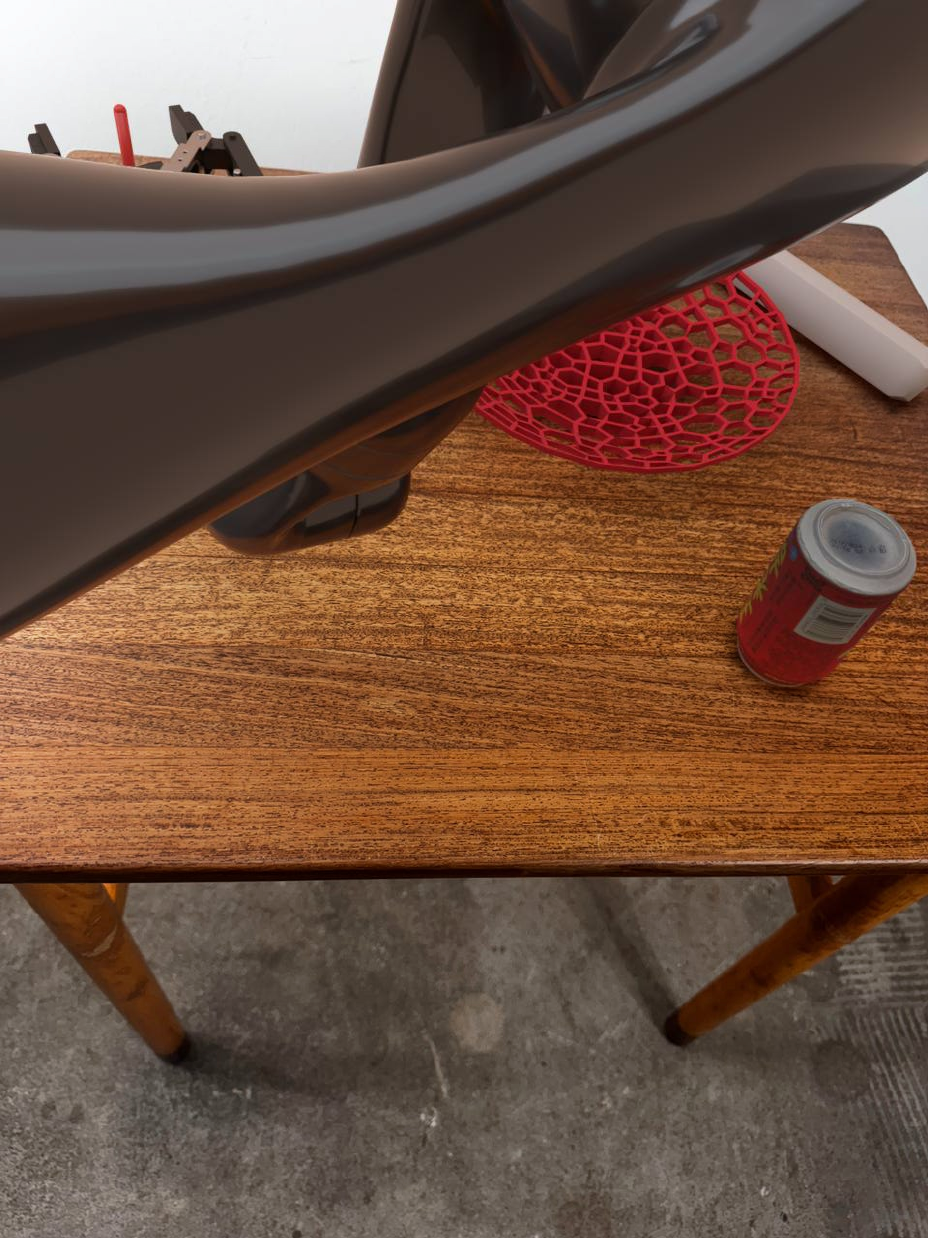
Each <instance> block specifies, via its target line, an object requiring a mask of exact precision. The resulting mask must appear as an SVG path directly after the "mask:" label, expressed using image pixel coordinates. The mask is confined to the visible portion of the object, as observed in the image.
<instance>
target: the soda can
mask: <svg viewBox="0 0 928 1238" xmlns="http://www.w3.org/2000/svg"><path fill="white" fill-rule="evenodd" d="M917 562H918V561H917V553H916V551H915V548H914V545H913V544H912V541H911V539H910V537H909V536H908V534H907V532H906V531H905V530H904V529H903V527H901V525H900V524H899V523H898V521H896V520H895V519H894V518H893V517H892V516H891V515H890V514H888V513H886V512H885V511H882V510H880V509H879V508H877V507H874V506H873V505H870V504H867V503H865V502H861V501H858V500H854V499H850V498H833V499H826V500H823V501H821V502H818V503H816V504H813V505H811V506H810V507H809V508H807V509H806V510H805V511H804V512H803V513H802V514H801V516H800V517H799V518H798V519H797V521H796V522H795V524H794V526H793V527H792V529H791V531H790V532H789V534H788V535H787V537H786V538H785V540H784V541H783V543H782V544H781V546H780V548H779V549H778V551H777V552H776V554H775V556H774V558H772V560H771V562H770V563H769V564H768V567H767V568H766V569H765V571H764V573H763V574H762V575H761V577H760V579H759V581H758V582H757V583H756V585H755V586H754V588H753V590H752V591H751V592H750V594H749V595H748V597H747V598H746V600H745V602H744V603H743V605H742V606H741V608H740V610H739V613H738V615H737V619H736V633H737V638H736V639H737V640H736V646H737V650H738V651H737V652H738V654H739V657H740V659H741V661H742V662H743V664H744V665H745V666H746V668H748V670H749V671H750V672H752V674H753V675H755V676H756V677H757V678H758V679H760V680H762V681H764V682H765V683H768V684H771V685H775V686H778V687H784V688H793V687H795V688H796V687H798V686H801V685H804V684H809V683H814V682H817V681H820V680H822V679H824V678H826V677H827V676H829V675H830V674H831V673H833V672H834V671H835V669H836V668H837V667H839V665H840V664H841V663H842V662H843V660H844V659H845V658H846V657H847V656H848V654H850V652H851V651H852V650H853V649H854V648H855V647H856V646H857V644H858V643H859V642H860V641H861V640H862V639H863V638H864V637H865V635H866V634H867V633H868V632H869V631H870V630H871V629H872V627H873V626H874V625H875V624H876V623H877V622H878V620H879V619H880V618H881V617H882V616H883V614H885V613H886V611H887V610H888V609H889V607H890V606H891V605H892V604H893V602H895V600H896V599H897V598H899V596H900V595H901V594H902V593H903V592H904V591H905V589H906V588H908V586H909V585H910V584H911V582H912V581H913V578H914V576H915V574H916V572H917Z"/></svg>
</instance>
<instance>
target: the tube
mask: <svg viewBox="0 0 928 1238" xmlns="http://www.w3.org/2000/svg"><path fill="white" fill-rule="evenodd" d="M741 271H743V272H744V273H745V274H746V275H747V276H748V277H749V278H751V279H752V280H753V281H754V282H755V283H756V284H757V285H759V286H760V287H761V288H762V289H763V290H764V291H765V293H766V294H767V295H768V296H769V298H770V299H771V300H772V301H773V303H774V304H775V305H776V306H777V308H778V309H779V310H780V312H781V313H782V314H783V315H784V318H785V320H786V323H787V325H788V326H790V327H791V328H792V329H794V330H795V331H797V332H798V333H799V334H801V335H802V336H804V337H805V338H806V339H808V340H809V341H811V342H812V343H813V344H814V345H816V346H817V347H818V348H820V349H822V350H823V351H824V352H826V353H827V354H829V355H830V356H831V357H833V358H834V359H835V360H837V361H838V362H839V363H841V364H842V365H844V366H845V367H846V368H848V370H851V371H852V372H854V373H855V374H856V375H857V376H859V377H861V378H862V379H863V380H865V381H866V382H867V383H869V384H870V385H871V386H873V387H874V388H876V389H877V390H879V391H880V392H881V393H883V394H884V395H886V396H887V397H888V398H890V399H891V400H897V401H902V402H911V400H913V399H914V398H915V397H916V396H918V395H919V394H920V393H922V392H923V391H924V390H925V389H926V388H928V346H926V345H925V344H924V343H922V342H921V341H919V340H918V339H916V338H915V337H914V336H912V335H911V334H909V333H908V332H906V331H905V330H904V329H902V328H900V327H899V326H897V325H896V324H895V323H893V322H892V321H890V320H889V319H887V318H886V317H884V316H883V315H882V314H880V313H879V312H877V311H876V310H874V309H873V308H871V307H870V306H868V305H867V304H866V303H864V302H862V301H861V300H859V299H858V298H857V297H855V296H853V294H851V293H849V292H848V291H846V290H845V289H843V287H840V285H837V284H836V283H835V282H833V281H832V280H830V279H829V278H827V277H826V276H825V275H823V274H822V273H820V272H819V271H818V270H816V269H814V268H813V267H811V266H810V265H809V264H807V263H806V262H804V261H802V260H801V259H799V258H798V257H797V256H796V255H794V254H792V253H791V252H790V251H788V250H787V249H786V250H784V251H782V252H780V253H778V254H776V255H773V256H771V257H769V258H767V259H765V260H763V261H761V262H759V263H756V264H754V265H752V266H750V267H748V268H746V269H744V270H741ZM732 282H733V284H734V287H735V288H737V289H738V290H740V291H741V292H742V293H744V294H745V295H747V296H748V298H751V299H752V298H753V297H754V295H755V294H754V293H753V292H752V291H750V290H749V289H748V288H747V287H746V286H745V285H744V284H743V283H741V282H740V281H739V280H738V279H737V278H735V279H734V280H733V281H732ZM756 303H757V304H758V305H760V306H762V307H763V308H765V309H766V310H767V308H766V307H765V306H764V305H763V303H762V302H761V301H760V300H759V298H758V300H757V301H756Z"/></svg>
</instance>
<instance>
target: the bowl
mask: <svg viewBox="0 0 928 1238" xmlns="http://www.w3.org/2000/svg"><path fill="white" fill-rule="evenodd" d="M735 278H737V279H738V280H739V281H740V282H741V283H743V284H744V285H745V286H746V287H747V288H748V289H749V290H750V291H752V292H753V293H754V294H755V295H754V297H753V298H751V300H750V299H748V298H746V297H744V296H742V295H740V294H738V293H737V290H736V287H735V286H734V284H733V282H732V281H733V280H734V279H735ZM717 283H719V284H721V285H723V286H725V287H726V290H727V293H728V296H729V297H728V298H727V299H725V300H724V299H722V298H719V297H718V296H714V295H712V293H711V289H710V285H709V286H707V287H704V288H702V289H701V290H702V292H703V295H704V298H703V299H700V300H698V301H697V300H696V299H695V297H694V296H693V293H691V294H688V295H686V296H684V297H682V298H681V299H682V300H683V301H684V303H685V305H686V306H685V307H683V308H680V309H679V310H677V309H675V308H673V307H671V306H669V305H667V304H666V305H664V306H661V307H659V308H657V309H654V310H652V311H650V312H648V313H645V314H643V315H641V316H639V317H636V318H634V319H632V320H630V321H627V322H625V323H623V324H621V325H618V326H616V327H614V328H611V329H610V330H613V331H609V330H607V331H605V332H602V333H600V334H598V335H596V336H593V337H591V338H589V339H587V340H584V341H582V342H580V343H578V344H575V345H573V346H571V347H568V348H566V349H564V350H562V351H559V352H557V353H555V354H553V355H550V356H548V357H546V358H544V359H541V360H539V361H537V362H535V363H532V364H530V365H528V366H526V367H523V368H521V369H519V370H517V371H514V372H512V373H510V375H511V376H508V375H505V376H503V377H501V378H499V379H496V380H494V381H493V383H494V384H495V385H496V386H497V388H498V389H499V390H500V391H498V390H497V389H495V388H493V387H492V386H490V385H489V384H488V385H487V387H486V388H485V390H484V392H483V394H482V395H481V397H480V399H479V400H478V402H477V403H476V405H475V406H474V408H473V409H472V411H474V412H475V413H476V414H477V415H479V416H480V417H481V418H483V419H485V420H486V421H488V423H490V424H492V425H493V426H495V427H496V428H498V429H499V430H500V431H502V432H503V433H505V434H506V435H507V436H509V437H512V438H514V439H515V440H517V441H520V442H521V443H524V444H525V445H528V446H530V447H532V448H534V449H535V450H537V451H540V452H542V453H544V454H547V455H551V456H553V457H556V458H560V459H563V460H566V461H570V462H573V463H576V464H579V465H581V466H586V467H589V468H593V469H596V470H602V471H612V472H621V473H631V474H639V475H640V474H641V475H657V474H671V473H686V472H687V473H688V472H695V471H698V470H701V469H704V468H708V467H711V466H715V465H717V464H720V463H722V462H727V461H730V460H732V459H736V458H738V457H739V456H741V455H742V454H744V453H746V452H748V451H750V450H751V449H753V448H754V447H756V446H758V445H759V444H761V443H762V442H764V441H765V440H766V439H767V438H768V437H770V436H771V435H772V434H773V433H775V431H776V430H777V429H778V427H779V426H780V425H781V423H782V422H783V421H784V419H785V418H786V416H787V415H788V413H789V412H790V410H791V407H792V404H793V402H794V400H795V396H796V393H797V391H798V388H799V385H800V369H801V368H800V364H801V363H800V362H801V357H800V354H799V352H798V349H797V346H796V344H795V341H794V339H793V336H792V334H791V333H792V332H791V331H790V329H789V325H788V324H787V323H786V320H785V318H784V315H783V314H782V313H781V312H780V310H779V309H778V308H777V306H776V305H775V304H774V303H773V301H772V300H771V299H770V298H769V296H768V295H767V294H766V293H765V291H764V290H763V289H762V288H761V287H760V286H759V285H757V284H756V283H755V282H754V281H753V280H752V279H751V278H749V277H748V276H747V275H746V274H745V273H744V272H743V271H739V272H737V273H735V274H733V275H731V276H729V277H727V278H724V279H722V280H720V281H718V282H717ZM758 298H759V300H760V301H761V302H762V303H763V305H764V306H765V307H766V308H767V309H766V308H765V307H764V308H765V309H766V310H767V311H768V312H766V313H765V312H764V311H763V310H762V309H760V307H759V306H758V305H756V303H757V302H756V301H757V300H758ZM731 304H735V305H737V306H739V307H740V308H743V309H744V310H745V311H744V312H739V313H738V312H737V313H733V312H732V309H731V307H730V305H731ZM707 305H708V306H711V307H714V308H716V309H718V310H721V312H722V316H718V317H715V318H710V317H709V316H708V315H707V313H706V312H705V311H704V310H703V308H704V307H705V306H707ZM749 314H751V315H752V316H753V317H754V318H752V317H751V316H749ZM690 316H693V317H694V319H695V320H696V321H691V320H690V319H689V318H688V317H690ZM773 320H775V321H776V322H774V321H773ZM647 322H649V323H647ZM760 324H762V325H764V326H765V327H766V328H767V330H764V329H759V327H758V326H759V325H760ZM671 325H675V326H677V327H678V328H680V329H681V330H683V331H684V332H685V333H684V335H682V336H678V337H673V338H668V337H667V336H666V334H664V333H663V331H662V330H661V329H663V328H666V327H669V326H671ZM725 325H730V326H731V327H733V328H735V329H737V330H739V331H740V333H741V336H742V338H743V340H742V341H739V342H737V343H734V344H732V343H730V342H728V341H725V340H723V339H721V338H720V336H719V334H718V331H717V328H719V327H722V326H725ZM615 331H616V332H615ZM774 331H780V332H781V335H782V337H783V340H784V342H785V343H781V342H778V341H777V340H776V338H775V337H774V336H773V335H772V332H774ZM701 332H704V333H705V334H706V336H707V339H708V340H709V343H710V344H711V345H710V346H709V348H703V347H699V346H694V344H693V343H692V342H691V340H690V339H689V336H690V335H691V334H696V333H701ZM758 339H759V340H758ZM760 340H765V342H766V343H767V344H764V343H762V342H761V341H760ZM746 347H749V348H751V349H752V350H755V351H756V352H757V353H759V356H760V360H759V361H757V362H756V363H753V364H752V363H749V362H747V361H744V360H741V359H739V358H738V357H737V355H738V354H737V351H738V350H740V349H743V348H746ZM716 350H717V351H719V352H723V353H727V354H729V359H727V360H724V361H720V362H717V360H716V358H715V356H714V353H715V352H716ZM678 351H680V352H681V353H680V352H679V353H678ZM771 351H777V352H781V353H785V354H789V356H790V360H787V361H783V362H782V361H779V360H776V359H773V358H769V357H768V355H767V354H768V352H771ZM599 360H601V361H599ZM698 362H704V363H698ZM652 367H659V368H663V369H667V371H663V372H658V371H655V370H652V369H648V368H652ZM761 367H763V368H766V369H771V370H773V371H778V372H777V373H776V374H774V375H772V376H771V377H769V378H763V377H759V375H758V372H757V370H758V369H760V368H761ZM729 369H734V370H736V371H739V372H742V373H745V374H748V375H749V376H750V380H751V382H749V384H748V385H747V386H741V385H740V386H739V385H732V384H726V383H724V381H723V378H722V375H721V373H722V372H724V371H727V370H729ZM787 369H790V370H787ZM791 369H792V370H791ZM520 372H521V373H523V374H521V373H520ZM691 376H709V377H710V380H711V382H712V385H709V386H702V385H698V384H695V383H692V382H689V381H688V379H687V378H689V377H691ZM781 379H792V383H791V384H789V385H786V386H783V387H781V388H769V386H770V385H772V384H774V383H776V382H778V381H780V380H781ZM671 385H673V386H674V387H675V388H673V387H670V386H671ZM788 393H790V394H789V396H788V400H787V403H786V404H781V403H780V402H779V401H778V400H777V398H778V397H781V396H783V395H786V394H788ZM721 395H723V396H733V397H734V396H735V397H741V400H737V401H736V400H735V401H729V402H728V401H727V400H726V399H724V398H723V397H721ZM684 396H686V397H690V398H694V399H698V400H696V401H694V402H691V403H685V402H676V401H679V400H680V399H681V398H682V397H684ZM749 397H759V399H757V400H750V399H749ZM659 401H660V402H659ZM506 402H510V403H512V404H513V405H514V406H515V407H517V408H518V409H519V410H520V411H521V412H519V411H517V410H515V409H513V408H512V407H511V406H510V405H509V404H508V403H506ZM763 404H768V405H770V406H771V407H772V408H771V409H769V408H760V407H758V406H760V405H763ZM707 406H714V407H716V408H717V411H716V412H710V413H698V411H697V410H699V409H700V408H703V407H707ZM739 410H743V411H744V412H746V413H747V415H746V417H745V418H744V419H743V420H728V419H726V417H724V416H723V415H724V414H725V413H727V412H733V411H739ZM780 413H781V414H780ZM587 415H588V416H587ZM533 416H537V417H542V418H544V419H546V420H548V421H550V422H552V423H554V424H555V425H557V426H560V427H561V428H563V429H565V430H567V431H568V432H567V431H563V430H559V429H555V428H552V427H549V426H547V425H545V424H543V423H542V422H540V421H539V420H537V419H535V418H534V417H533ZM589 416H593V417H589ZM595 417H597V418H595ZM675 417H681V418H679V419H676V418H675ZM753 417H759V418H761V417H762V418H768V419H770V420H771V421H773V422H774V423H773V425H772V426H764V427H763V426H762V427H755V426H754V425H753V424H752V423H751V422H750V421H751V420H752V418H753ZM706 423H708V424H709V423H712V424H714V425H715V426H717V428H719V429H718V430H717V431H713V432H709V433H705V434H703V433H699V432H693V431H687V430H684V428H687V427H688V426H690V425H693V424H706ZM741 428H742V429H743V430H744V432H746V433H744V434H743V435H741V436H729V435H727V436H725V435H724V434H723V432H724V431H726V430H733V429H741ZM584 436H585V437H584ZM586 436H587V437H586ZM615 436H617V437H615ZM547 437H550V438H554V439H557V440H561V441H565V442H568V443H572V444H568V445H567V444H564V443H561V442H559V441H555V440H552V439H549V438H547ZM588 437H589V438H588ZM590 437H591V438H590ZM592 438H594V439H596V440H594V439H592ZM677 441H684V442H692V443H698V444H694V445H684V444H683V445H682V444H677V443H676V442H677ZM657 445H659V446H661V447H662V448H664V449H649V448H648V446H657ZM739 445H743V446H741V447H739V448H738V449H733V448H735V447H737V446H739ZM646 446H647V448H646ZM706 450H711V451H708V452H705V453H699V452H702V451H706ZM602 452H604V453H608V454H613V455H617V456H621V457H611V456H605V454H603V453H602ZM673 453H674V454H673ZM679 460H694V461H700V462H695V463H691V464H683V463H678V462H675V461H679Z"/></svg>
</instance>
